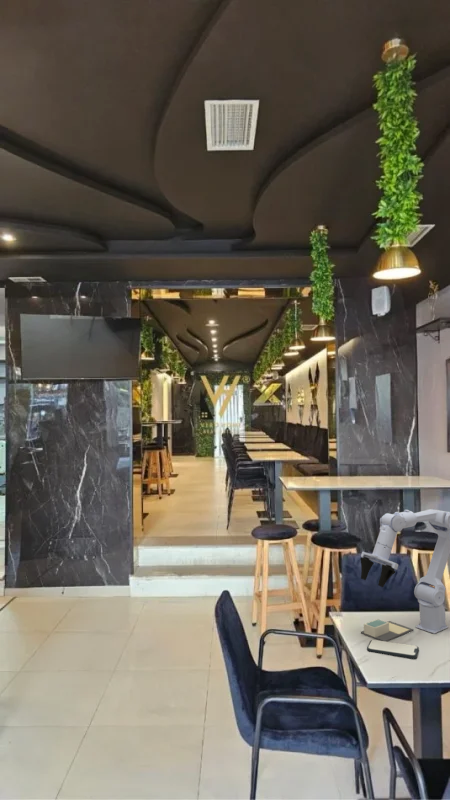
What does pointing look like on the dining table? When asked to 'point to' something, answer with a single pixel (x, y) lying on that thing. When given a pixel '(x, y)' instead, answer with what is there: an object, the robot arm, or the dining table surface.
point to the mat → (392, 632)
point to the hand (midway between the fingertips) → (371, 582)
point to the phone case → (393, 649)
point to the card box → (376, 628)
